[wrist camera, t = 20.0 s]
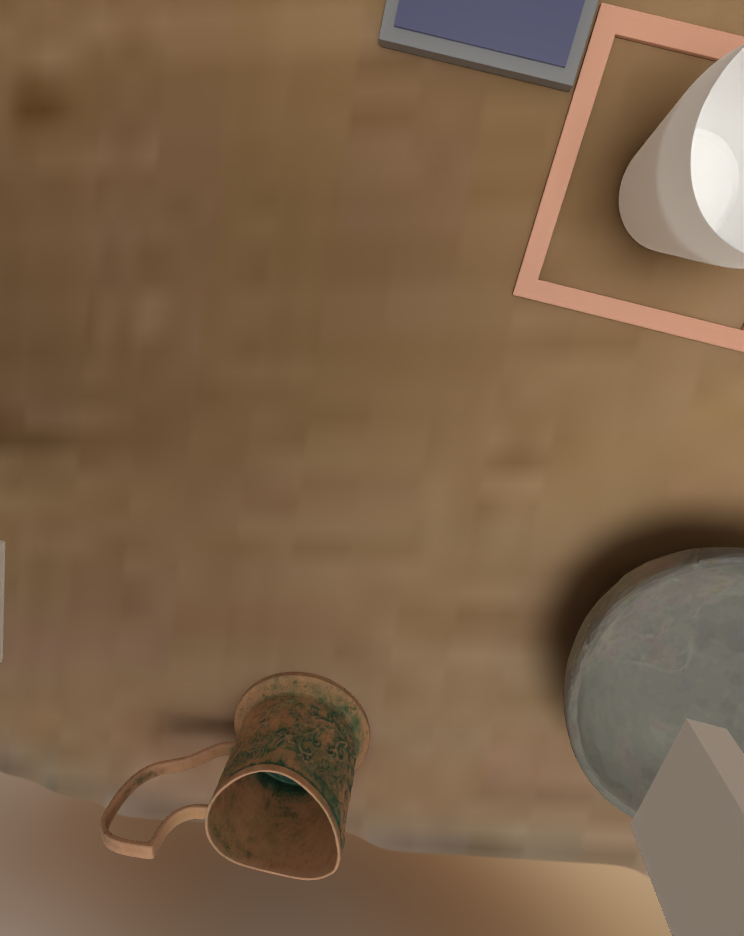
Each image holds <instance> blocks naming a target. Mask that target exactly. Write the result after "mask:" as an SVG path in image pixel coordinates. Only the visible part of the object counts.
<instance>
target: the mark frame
mask: <svg viewBox="0 0 744 936" xmlns="http://www.w3.org/2000/svg"><path fill="white" fill-rule="evenodd" d="M614 37H618V38H623V39H627V40H631V41H635V42H639V43H643V44H647V45H652V46H656V47H660V48H664V49H668V50H672V51H677V52H681V53H685V54H689V55H693V56H697V57H701V58H706V59H710V60H714V61H718V60H719V59H720V58H722V57H723V56H725V55H726V54H727V53H729V52H731V51H733V50H734V49H736V48H738V47H739V46H741V45H743V44H744V37H743V36H739V35H735V34H730V33H726V32H722V31H718V30H714V29H710V28H705V27H701V26H697V25H693V24H689V23H685V22H680V21H676V20H672V19H668V18H664V17H660V16H655V15H651V14H647V13H643V12H639V11H635V10H630V9H626V8H622V7H618V6H614V5H610V4H605V3H601V5H600V8H599V11H598V14H597V17H596V21H595V24H594V27H593V31H592V34H591V37H590V40H589V44H588V47H587V50H586V54H585V57H584V60H583V64H582V67H581V70H580V73H579V77H578V80H577V83H576V87H575V90H574V93H573V96H572V100H571V103H570V106H569V110H568V113H567V116H566V119H565V123H564V126H563V129H562V133H561V136H560V139H559V142H558V146H557V149H556V152H555V156H554V159H553V162H552V166H551V169H550V172H549V175H548V179H547V182H546V185H545V189H544V192H543V195H542V198H541V202H540V205H539V208H538V212H537V215H536V218H535V221H534V225H533V228H532V231H531V235H530V238H529V241H528V245H527V248H526V251H525V254H524V258H523V261H522V264H521V268H520V271H519V274H518V277H517V281H516V284H515V287H514V291H513V294H512V295H516V296H520V297H524V298H528V299H532V300H536V301H540V302H544V303H548V304H552V305H556V306H560V307H564V308H568V309H572V310H576V311H580V312H584V313H588V314H592V315H596V316H600V317H604V318H608V319H612V320H616V321H620V322H624V323H628V324H632V325H637V326H641V327H645V328H649V329H653V330H657V331H661V332H665V333H669V334H673V335H677V336H681V337H685V338H689V339H693V340H697V341H701V342H705V343H709V344H713V345H717V346H721V347H725V348H729V349H733V350H737V351H741V352H744V325H743V327H742V329H741V330H739V329H735V328H731V327H727V326H723V325H719V324H715V323H711V322H707V321H703V320H699V319H695V318H691V317H687V316H683V315H679V314H675V313H671V312H667V311H662V310H658V309H654V308H650V307H646V306H642V305H638V304H634V303H630V302H626V301H622V300H618V299H614V298H610V297H606V296H602V295H598V294H594V293H590V292H586V291H582V290H578V289H574V288H570V287H566V286H562V285H558V284H554V283H550V282H546V281H542V280H538V278H539V274H540V271H541V268H542V265H543V262H544V259H545V255H546V252H547V249H548V246H549V243H550V240H551V236H552V233H553V230H554V227H555V224H556V221H557V217H558V214H559V211H560V208H561V205H562V202H563V198H564V195H565V192H566V189H567V186H568V183H569V179H570V176H571V173H572V170H573V167H574V164H575V160H576V157H577V154H578V151H579V148H580V145H581V141H582V138H583V135H584V132H585V129H586V125H587V122H588V119H589V116H590V113H591V110H592V106H593V103H594V100H595V97H596V94H597V91H598V87H599V84H600V81H601V78H602V75H603V72H604V68H605V65H606V62H607V59H608V56H609V53H610V49H611V46H612V43H613V40H614Z"/></svg>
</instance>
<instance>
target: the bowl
mask: <svg viewBox="0 0 744 936" xmlns="http://www.w3.org/2000/svg"><path fill="white" fill-rule="evenodd" d="M563 694H564V713H565V720H566V727H567V731H568V735H569V739H570V742H571V746H572V749H573V752H574V754H575V757H576V759H577V761H578V763H579V765H580V767H581V769H582V771H583V772H584V773H585V775H586V776H587V778H588V779H589V781H590V782H591V783H592V784H593V786H594V787H595V788H596V789H597V790H598V791H599V792H600V793H601V794H602V795H603V796H604V797H605V799H607V800H608V801H609V802H610V803H611V804H613V805H614V806H615V807H617V808H618V809H620V810H621V811H623V812H624V813H626V814H627V815H629V816H631V817H632V818H634V816H635V814H636V813H637V811H638V809H639V807H640V805H641V803H642V801H643V799H644V797H645V795H646V794H647V792H648V790H649V788H650V786H651V784H652V782H653V780H654V778H655V777H656V775H657V773H658V771H659V769H660V767H661V765H662V763H663V761H664V759H665V758H666V756H667V754H668V752H669V750H670V748H671V746H672V744H673V742H674V740H675V739H676V737H677V735H678V733H679V731H680V729H681V727H682V725H683V723H684V722H685V720H686V718H687V719H691V720H695V721H699V722H703V723H706V724H710V725H714V726H718V727H722V728H726V729H727V730H728V731H729V733H730V734H731V736H732V737H733V739H734V740H735V742H736V743H737V744H738V746H739V747H740V749H741V750H742V752H743V753H744V547H705V548H695V549H688V550H683V551H679V552H676V553H672V554H669V555H666V556H663V557H660V558H657V559H654V560H651V561H648V562H646V563H645V564H643V565H641V566H639V567H637V568H635V569H633V570H632V571H630V572H628V573H627V574H625V575H624V576H623V577H622V578H621V579H620V580H619V581H618V582H617V583H616V584H615V585H614V586H613V587H612V588H611V589H609V590H608V591H607V592H606V593H605V594H604V595H603V596H602V597H601V598H600V599H599V600H598V601H597V602H596V604H595V605H594V607H593V608H592V609H591V611H590V612H589V613H588V615H587V616H586V618H585V620H584V622H583V623H582V625H581V627H580V629H579V631H578V634H577V636H576V638H575V641H574V643H573V646H572V649H571V652H570V654H569V657H568V661H567V666H566V673H565V678H564V692H563Z"/></svg>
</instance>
